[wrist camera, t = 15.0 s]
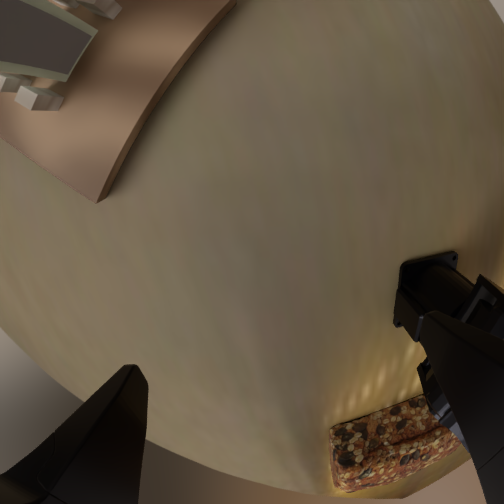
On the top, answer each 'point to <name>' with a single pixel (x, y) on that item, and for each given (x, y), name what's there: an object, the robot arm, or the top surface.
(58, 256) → the top surface
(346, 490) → the bread
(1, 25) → the pale panelled upright block
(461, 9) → the top surface
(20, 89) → the tan board with pegs
